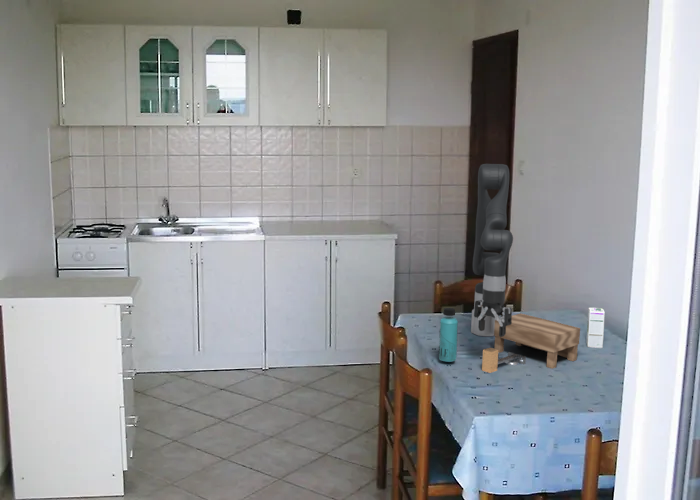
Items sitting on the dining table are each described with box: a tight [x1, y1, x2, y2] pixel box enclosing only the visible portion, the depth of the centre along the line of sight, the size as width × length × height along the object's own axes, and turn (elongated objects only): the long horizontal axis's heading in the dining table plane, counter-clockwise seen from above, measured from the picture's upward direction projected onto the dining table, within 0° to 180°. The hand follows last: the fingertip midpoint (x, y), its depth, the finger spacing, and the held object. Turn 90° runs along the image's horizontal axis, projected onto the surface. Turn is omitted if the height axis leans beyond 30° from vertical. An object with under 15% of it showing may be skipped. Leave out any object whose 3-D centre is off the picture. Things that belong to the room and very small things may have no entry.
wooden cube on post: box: [481, 347, 527, 374], centre depth 274 cm, size 18×7×8 cm, turn 132°
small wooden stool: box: [494, 312, 581, 369], centre depth 286 cm, size 16×26×12 cm, turn 42°
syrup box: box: [585, 307, 606, 349], centre depth 300 cm, size 6×6×14 cm
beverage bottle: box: [438, 307, 459, 363], centre depth 275 cm, size 6×7×20 cm
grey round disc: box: [504, 360, 519, 366], centre depth 278 cm, size 4×4×1 cm
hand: (491, 333), depth 267 cm, fingers open, 8 cm apart
